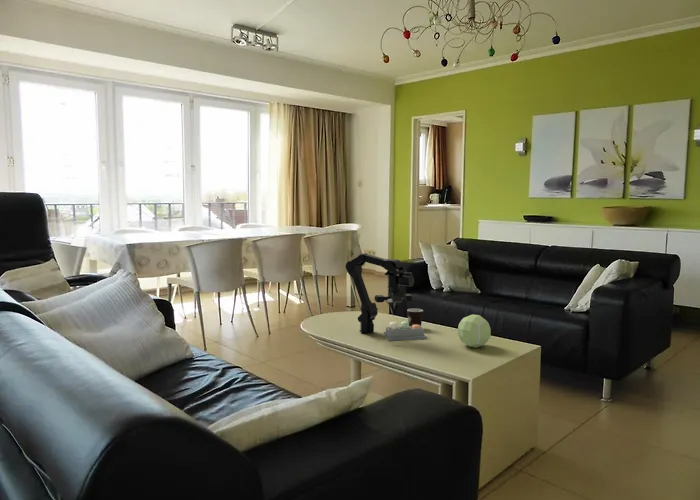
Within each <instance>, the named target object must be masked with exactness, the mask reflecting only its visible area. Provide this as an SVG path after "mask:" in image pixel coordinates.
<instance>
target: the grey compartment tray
mask: <svg viewBox="0 0 700 500" xmlns="http://www.w3.org/2000/svg"><path fill="white" fill-rule="evenodd" d="M383 335H384V336H385V337H386V339H388V341H389V342H394V341H396V342H397V341H413V340H414V341H415V340H427V339H428V337H427V336H426V335H425V328H424V327H423V326H422V325H421V326H420V329H413V328H412V326H409V329H401V326H397V330H390V326H387V327H386V326H385V331H383Z"/></svg>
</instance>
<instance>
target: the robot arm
mask: <svg viewBox="0 0 700 500" xmlns="http://www.w3.org/2000/svg"><path fill="white" fill-rule="evenodd" d="M366 263H368V264H371V265H375V266H379V267H382V268H383V269H385V270H386V272H385V273H384V276H387V281H388V282H387V296H384V295H383V294H376V295H374V301H375V302H372V301H371V298H370V296H369V292H368V290H367V288H366V287H367V286H366V284H365V282H364V278H363V276H362V275H363V274H362V272H363V268H362V266H363V265H365V264H366ZM344 267H345V269H346V272H347V274H348V275H349V276H350V277H351V278H352V280H353V283H354V285H355V288H356V292H357V294H358V297H359V300H360V304H361V305H360V315H358V317H357V322H359V332H360V334H364V335H365V334H374V332H375V324H374V320H376V317H377V316H378V311H379V309H378V307H377V304H376V303H384V302H385V303H387V304H388V306H389V308H390V311H391V315H392V316H395V314H396V311H397V310H398V309H397V308H398V307H399V305H400V304H402V303H403V300H404V301H406V302H413V301H414V298H413V295H411V294H410V293H407V292H406V291H405V290H403V291H401V287H400V286H404V287H413V286H414V284H415V278H414V275H413V272H406V270H405V268H404V267H403V265H402V262H401V260H399V258H398V259H394V258H383V257H379V256H376V255H372V254H368V253H366V252H365V253H360V254H359V255H358V256H356V257H355V258H353V259H352V260H349V261H347V262H346V263H345V266H344Z"/></svg>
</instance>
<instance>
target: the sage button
mask: <svg viewBox="0 0 700 500" xmlns="http://www.w3.org/2000/svg"><path fill="white" fill-rule="evenodd" d="M400 327H401V329H409V322H408V321H404V320H403V321H401V322H400Z"/></svg>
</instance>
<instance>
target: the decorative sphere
mask: <svg viewBox="0 0 700 500" xmlns="http://www.w3.org/2000/svg"><path fill="white" fill-rule="evenodd" d="M491 333H492V332H491V326H490V324H489V322H488V320H487V319H485V318H484V317H483V316H481V315H480V314H470V315H468V316H465V317H463V318H462V319H461V320H460V322H459V324H458V327H457V335H458V337H459V340H460V341H461V343H464V345H466V346H467V347H469V348H473V347H474V349H477V348H479V347H482V346H484V345H486V344H487V342H489V340H490V338H491Z"/></svg>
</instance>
